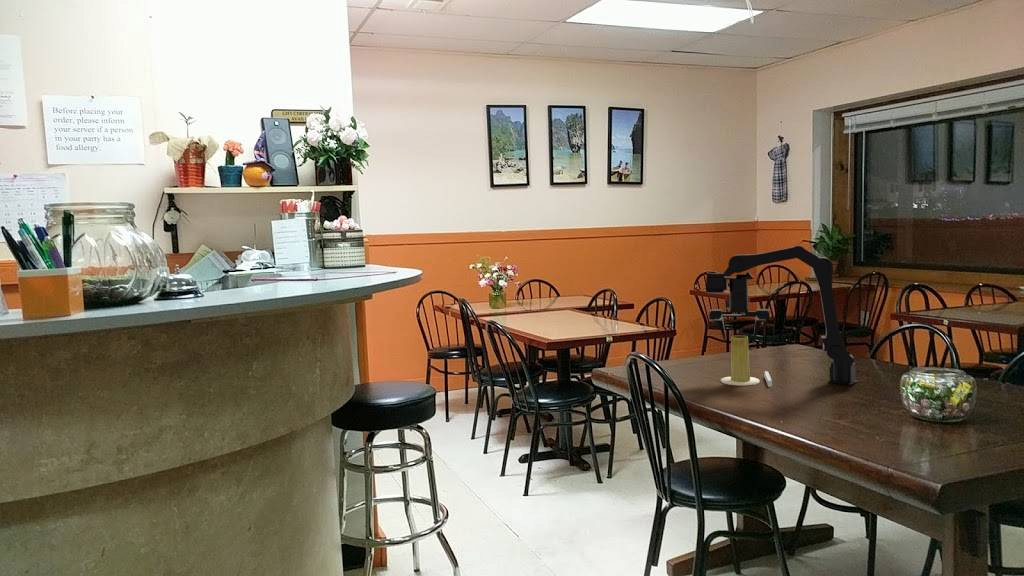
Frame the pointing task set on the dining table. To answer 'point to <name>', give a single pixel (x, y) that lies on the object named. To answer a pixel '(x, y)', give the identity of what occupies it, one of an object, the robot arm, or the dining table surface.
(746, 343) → the vase
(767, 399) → the dining table surface
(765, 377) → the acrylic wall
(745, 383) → the mat
